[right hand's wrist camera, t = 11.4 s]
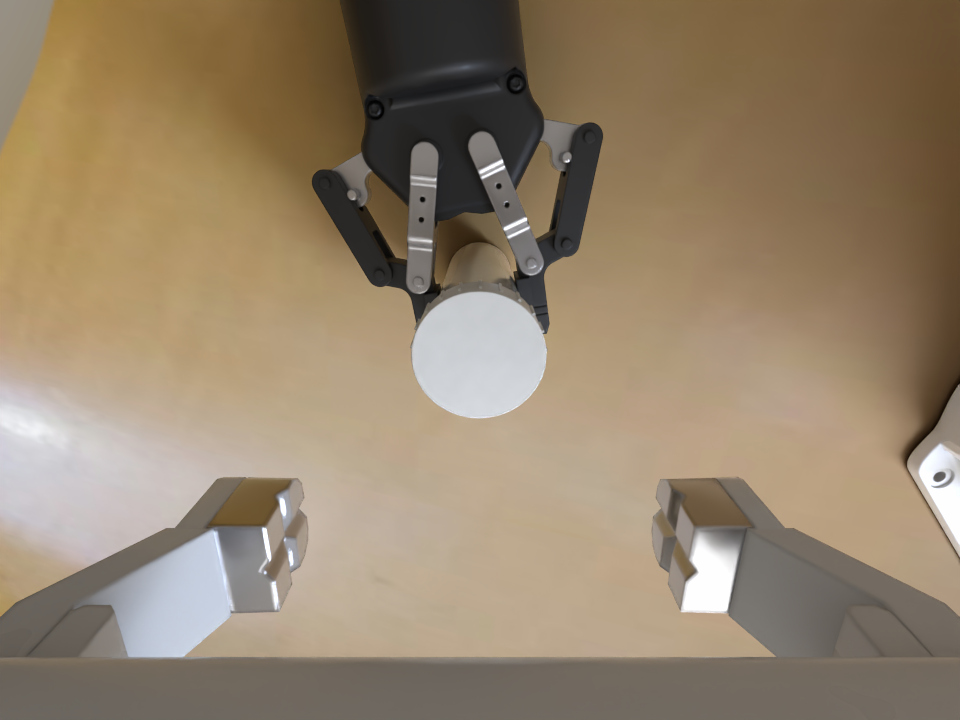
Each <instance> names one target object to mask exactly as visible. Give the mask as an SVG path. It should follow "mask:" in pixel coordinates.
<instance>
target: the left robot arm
mask: <svg viewBox="0 0 960 720" xmlns="http://www.w3.org/2000/svg"><path fill="white" fill-rule="evenodd" d="M340 4H341V8H342V13H343V17H344V22H345V26H346V30H347V35H348V40H349V44H350V49H351V53H352V58H353V63H354V67H355V72H356V76H357V81H358V86H359V90H360V95H361V99H362V104H363V108H364V113H365V131H364V135H363V139H362V143H361V153H359V154H357V155H356V156H354V157H352V158H351V159H349V160H347V161H346V162H344V163H342V164H340V165H339V166H337V167H335V168H334V169H331V170H319V171H317V172H316V173H315V174H314V176H313V178H312V186H313V188H314V190H315V192H316V194H317V195H318V197H319V199H320V200H321V202H322V204H323V205H324V207H325V208H326V210H327V212H328V213H329V215H330V217H331V218H332V220H333V222H334V223H335V225H336V227H337V228H338V230H339V232H340V233H341V235H342V237H343V238H344V240H345V241H346V243H347V245H348V246H349V248H350V250H351V251H352V253H353V255H354V256H355V258H356V260H357V261H358V263H359V265H360V266H361V268H362V270H363V271H364V273H365V274H366V276H367V278H368V279H369V281H370V282H371V283H372V284H373V285H375V286H377V287H383V286H391V287H396V288H401V289H403V290H405V291H406V292H407V293H408V294H409V296H410V297H411V300H412V305H413V309H414V314H415V319H416V323H417V321H418V319H421V318H422V315H423V313H424V311H425V308H426V306H427V304H428V303H430V304H431V302H432V301H433V300H434V299H435V298H437V297H438V296H439V295H440V292H441V286H440V284H436V282H435V277H434V274H435V261H436V248H437V239H438V230H439V221H442V220H448V219H450V218H453V217H455V216H457V215H459V214H461V213H463V212H470V213H480V214H483V213H488V212H494V211H495V212H496V215H497V217H498V219H499V221H500V224H501V226H502V228H503V231H504V233H505V235H506V237H507V240H508V242H509V244H510V247H511V249H512V251H513V253H514V256H515V260H516V267H517V271H515V272H514V279H515V284H516V287H517V291H518V293H519V294H520V297H521V298H522V299H524V300H525V301H526V303H527V304H528V305H529V306H530V305H532V307H533V309H534V312H535V314H536V315H535V316H536V318H537V320H538V322H541V324H542V327H543V329H544V333H543V334H547V331H548V327H549V316H548V308H547V300H546V292H545V284H544V273H545V270H546V269H547V267H548V266H549V265H550V264H551V263H553V262H555V261H557V260H558V259H560V258H562V257H569V256H572V255H573V254H575V253H576V251H577V250H578V248H579V244H580V239H581V235H582V230H583V226H584V221H585V217H586V212H587V208H588V203H589V198H590V194H591V189H592V185H593V180H594V176H595V171H596V167H597V162H598V158H599V153H600V149H601V144H602V140H603V133H602V130H601V128H600V127H599V126H598V125H597V124H595V123H584V124H581V125H575V124H570V123H564V122H558V121H553V120H547V119H544V117H543V114H542V112H541V110H540V108H539V107H538V105H537V104H536V102H535V101H534V99H533V97H532V95H531V92H530V90H529V86H528V79H527V71H526V63H525V54H524V46H523V37H522V29H521V21H520V12H519V4H518V0H340ZM539 142H542V143H544V144H545V145H546V146H547V147H548V149H549V154H550V155H549V161H550V164H551V166H552V167H553V168H554V169H555V170H557V171H561V174H560V179H559V184H558V189H557V194H556V199H555V204H554V209H553V214H552V219H551V224H550V229H549V232H547V233H546V234H544V235H542V236H540V237H539V238H537V239H535V238H534V235H533V233H532V231H531V228H530V226H529V223H528V220H527V217H526V215H525V213H524V210H523V208H522V205H521V203H520V201H519V198H518V196H517V193H516V188H517V186H518V184H519V182H520V180H521V178H522V176H523V174H524V172H525V170H526V168H527V166H528V164H529V162H530V160H531V158H532V156H533V154H534V152H535V150H536V148H537V146H538V144H539ZM373 172H374V173H375V174H376V175H377V176H378V177H379V178H380V179H381V180H382V181H383V182H384V183H385V184H386V185H387V186H388V187H389V188H390V189H391V190H392V191H393V192H394V193H395V194H396V195H397V196H398V197H399V198H400V199H401V200H402V201H403V202H404V203H405V204H406V205H407V206H408V207H409V213H408V231H407V244H408V254H407V260H405V259H399V258H396V257H395V256H394V254H393V252H392V250H391V249H390V247H389V245H388V243H387V242H386V240H385V238H384V237H383V235H382V233H381V231H380V230H379V228H378V226H377V225H376V223H375V221H374V219H373V218H372V216H371V214H370V212H369V211H368V209H367V207H366V206H365V205H366V204H368V203H369V202H370V200H371V197H372V192H371V189H370V187H369V177H370V175H371V174H372V173H373Z"/></svg>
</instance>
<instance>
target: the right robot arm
mask: <svg viewBox="0 0 960 720" xmlns="http://www.w3.org/2000/svg"><path fill="white" fill-rule="evenodd" d="M907 468H908V470H909V472H910V474H911V475H912V477H913V479H914V480H915V482H916V484H917V486H918V487H919V489H920V491H921V492H922V494H923V496H924V497H925V499H926V501H927V502H928V504H929V506H930V508H931V509H932V511H933V513H934V514H935V516H936V518H937V519H938V521H939V523H940V525H941V526H942V528H943V530H944V531H945V533H946V535H947V536H948V538H949V540H950V541H951V543H952V545H953V547H954V548H955V550H956V552H957V553H958V555H959V557H960V384H959V385H958V387H957V388H956V389H955V391H954V393H953V394H952V396H951V398H950V400H949V401H948V403H947V406H946V408H945V410H944V412H943V414H942V416H941V418H940V420H939V422H938V424H937V425H936V427H935V428H934V430H933V431H932V432H931V433H930V434H929V435H928V436H927V437H926V438H925V439H924V440H923V441H922V442H921V443H920V444H919V445H918V446H917V447H916V448H915V450H914V451H913V452H912V453H911V455H910V457H909V459H908V462H907ZM303 499H304V493H303V488H302V483H301V482H300V480H299V479H298V478H251V477H249V478H246V477H223V478H220V479H217V480H216V481H215V482H214V483H213V484H212V486H211V487H210V488H209V489H208V490H207V491H206V493H205V494H204V495H203V496H202V497H201V498H200V500H199V501H198V502H197V503H196V504H195V505H194V506H193V508H192V509H191V510H190V511H189V512H188V513H187V515H186V516H185V517H184V518H183V519H182V520H181V522H180V523H179V524H178V525H177V526H176V527H175V528H166V529H164V530H162V531H160V532H158V533H156V534H154V535H152V536H150V537H148V538H146V539H144V540H142V541H140V542H138V543H136V544H134V545H132V546H130V547H128V548H126V549H124V550H122V551H119V552H117V553H115V554H113V555H111V556H109V557H107V558H105V559H103V560H101V561H99V562H97V563H95V564H93V565H91V566H89V567H87V568H85V569H83V570H81V571H79V572H77V573H75V574H73V575H71V576H69V577H67V578H65V579H63V580H61V581H59V582H57V583H55V584H53V585H51V586H49V587H47V588H45V589H43V590H41V591H39V592H37V593H35V594H33V595H31V596H28V597H26V598H24V599H22V600H20V601H18V602H16V603H15V604H14V605H13V606H12V607H11V608H10V609H9V610H8V611H6V612H5V613H4V614H3V615H2V616H1V617H0V720H960V617H959V616H958V615H957V614H956V613H955V612H954V611H953V610H952V609H951V608H950V607H948V606H947V605H946V604H945V603H943V602H941V601H939V600H937V599H935V598H933V597H931V596H929V595H927V594H925V593H923V592H921V591H919V590H917V589H915V588H913V587H911V586H909V585H907V584H905V583H903V582H901V581H899V580H897V579H895V578H893V577H891V576H889V575H887V574H885V573H883V572H881V571H879V570H877V569H875V568H873V567H871V566H869V565H867V564H865V563H863V562H861V561H859V560H857V559H854V558H852V557H850V556H848V555H846V554H844V553H842V552H840V551H838V550H836V549H834V548H832V547H830V546H828V545H826V544H824V543H822V542H820V541H818V540H816V539H814V538H812V537H810V536H808V535H806V534H804V533H802V532H800V531H798V530H796V529H794V528H785V527H784V526H783V525H782V524H781V523H780V522H779V520H778V519H777V518H776V517H775V516H774V515H773V513H772V512H771V511H770V510H769V509H768V508H767V507H766V505H765V504H764V503H763V502H762V501H761V500H760V498H759V497H758V496H757V495H756V494H755V493H754V491H753V490H752V489H751V488H750V487H749V486H748V484H747V483H746V482H745V481H744V480H743V479H741V478H739V477H722V478H695V479H660V481H659V484H658V486H657V493H656V499H657V501H658V503H659V505H660V507H661V509H660V510H659V511H658V512H657V513H656V514H655V515H654V516H653V523H652V542H653V548H654V552H655V556H656V558H657V561H658V563H659V565H660V567H662V568H663V569H664V570H666V571H667V572H669V579H668V585H669V587H670V590H671V592H672V594H673V596H674V598H675V600H676V602H677V605H678V607H679V609H680V611H681V612H702V613H729V616H730V617H731V618H732V619H733V620H734V621H736V622H737V623H738V624H739V625H740V626H741V627H743V628H744V629H745V630H746V631H747V632H748V633H750V634H751V635H752V636H753V637H754V638H755V639H757V640H758V641H759V642H760V643H761V644H762V645H764V646H765V647H766V648H767V649H768V650H769V651H771V652H772V653H773V654H774V655H775V656H777V657H184V656H185V655H186V654H187V653H188V652H190V651H191V650H192V649H193V648H194V647H195V646H197V645H198V644H199V643H200V642H201V641H202V640H204V639H205V638H206V637H207V636H208V635H209V634H211V633H212V632H213V631H214V630H215V629H216V628H218V627H219V626H220V625H221V624H222V623H223V622H225V621H226V620H227V619H228V618H229V617H231V613H257V612H279V611H280V609H281V607H282V605H283V603H284V600H285V598H286V596H287V594H288V592H289V590H290V587H291V585H292V579H291V572H293V571H294V570H296V569H297V568H298V567H300V565H301V563H302V561H303V558H304V556H305V552H306V547H307V542H308V522H307V516H306V515H305V514H304V513H303V512H302V511H301V510H300V509H299V507H300V505H301V503H302V501H303Z"/></svg>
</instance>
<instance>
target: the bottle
mask: <svg viewBox="0 0 960 720" xmlns="http://www.w3.org/2000/svg"><path fill="white" fill-rule="evenodd" d="M479 280H482V282H489V283H494V284H499V283H501V284H502V286H504V287H506V288H508V289H510V290H512V291H513V292H515V293H516V292H518V291H517V287H516V284H515V281H514V278H513V274H512V271H511V268H510V265H509V262H508V260H507V258H506V256H505V255H504V253H503V252H502V251H501V250H500V249H498V248H497V247H495V246H493V245H491V244H488V243H483V242H475V243H471V244H468V245H466V246H464V247H462V248H461V249H459V250H458V251H457V252H456V253H455V254H454V256H453V257H452V259H451V261H450V264H449V267H448V270H447V273H446V276H445V280H444V283H443V286H442V289H441V291H442V290H444V291H446V290H448V289H450V288H452V287H454V286H457V285H459V283H460V282H462V284H464V283H469V282H479ZM440 294H441V292H440Z"/></svg>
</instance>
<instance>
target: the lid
mask: <svg viewBox="0 0 960 720" xmlns="http://www.w3.org/2000/svg"><path fill="white" fill-rule="evenodd" d="M535 315H536V314H535V312H534V309H533V307H532V305H530V306H529V305H528V304H527V303H526V301H525V300H524V299H522V298H521V297H520V294H519V293H518V292H516V293H515V292H513V291H512V290H510V289H508V288H506V287H504V286H502V284H501V283H499V284H494V283H489V282H482V280H479V282H469V283H464V284H462V282H460V283H459V285H457V286H454V287H452V288H450V289H448V290H446V291H444V290H442V291H441V294H440V295H439V296H438V297H437V298H435V299H434V300H433V301H432V302H431V304H430V303H428V304H427V306H426V308H425V311H424V313H423V315H422V318H421V319H418V321H417V324H416V326H415V330H416V332H415V335H414V338H413V341H412V344H411V359H412V366H413V370H414V374H415V376H416V379H417V381H418V383H419V385H420V386H421V388H422V389H423V391H424V392H425V393H426V395H427V396H428V397H429V398H430V399H431V400H432V401H433V402H435V403H436V404H437V405H438V406H440V407H442V408H443V409H445V410H447V411H449V412H451V413H453V414H457V415H460V416H464V417H469V418H488V417H494V416H498V415H501V414H504V413H507V412H509V411H511V410H513V409H514V408H516V407H518V406H519V405H521V404H522V403H523V402H524V401H526V400H527V399H528V398H529V397H530V396H531V394H532V393H533V392H534V391H535V389H536V388H537V386H538V384H539V383H540V381H541V378H542V376H543V373H544V369H545V365H546V352H547V347H546V344H545V340H544V336H543V333H544V329H543V327H542V324H541V322H538V320H537V318H536V316H535Z"/></svg>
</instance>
